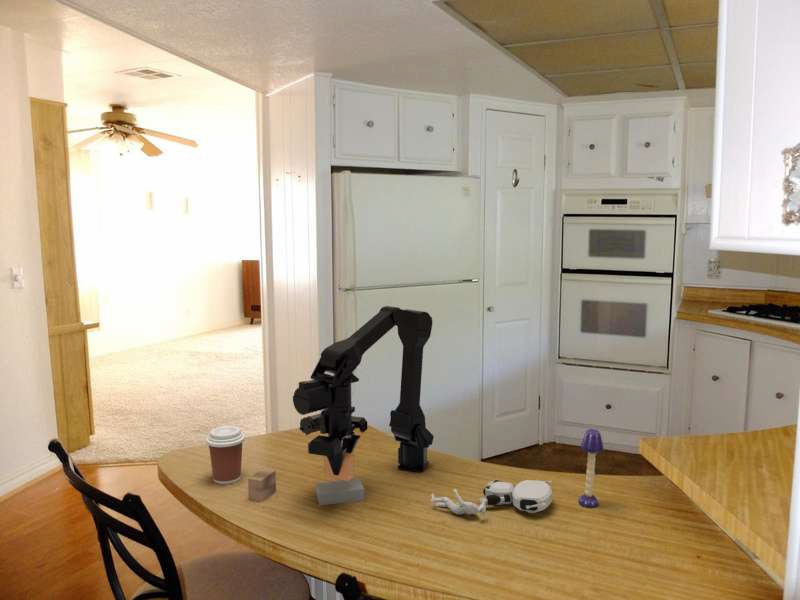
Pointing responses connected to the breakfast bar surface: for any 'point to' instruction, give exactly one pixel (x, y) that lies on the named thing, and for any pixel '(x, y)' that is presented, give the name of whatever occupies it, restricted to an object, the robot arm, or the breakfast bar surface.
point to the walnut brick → (262, 484)
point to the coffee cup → (226, 453)
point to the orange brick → (346, 468)
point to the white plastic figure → (459, 505)
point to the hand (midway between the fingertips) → (339, 471)
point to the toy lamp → (590, 465)
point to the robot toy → (519, 494)
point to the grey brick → (339, 491)
